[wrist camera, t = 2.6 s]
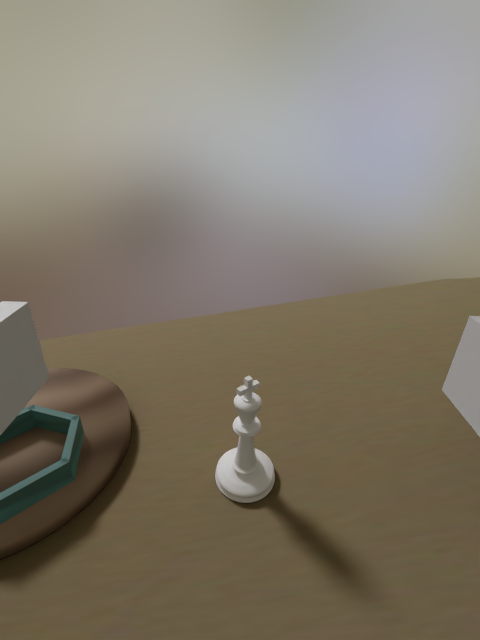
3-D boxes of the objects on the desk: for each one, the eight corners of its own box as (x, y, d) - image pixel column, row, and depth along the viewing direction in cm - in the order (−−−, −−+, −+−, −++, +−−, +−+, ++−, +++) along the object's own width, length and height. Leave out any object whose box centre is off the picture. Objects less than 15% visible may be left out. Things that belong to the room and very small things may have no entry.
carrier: (173, 452, 30) (170, 423, 28) (-151, 666, 18) (-189, 636, 16) (82, 358, 43) (76, 334, 41) (-144, 445, 30) (-166, 415, 29)
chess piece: (287, 481, 28) (299, 383, 23) (238, 515, 25) (240, 413, 20) (250, 442, 31) (254, 351, 27) (204, 469, 29) (199, 372, 24)
